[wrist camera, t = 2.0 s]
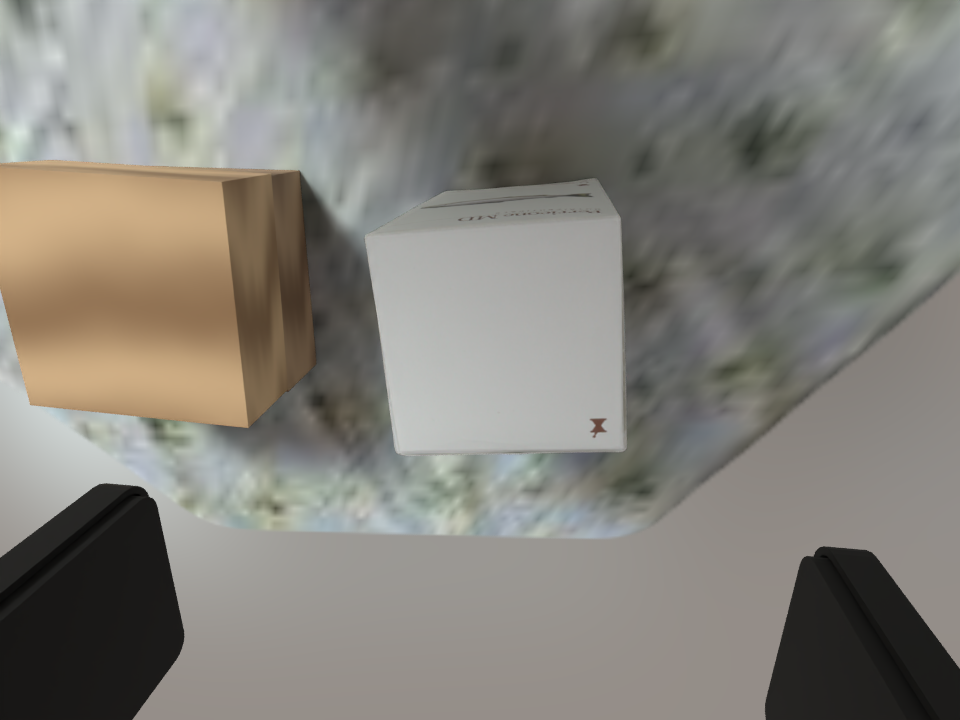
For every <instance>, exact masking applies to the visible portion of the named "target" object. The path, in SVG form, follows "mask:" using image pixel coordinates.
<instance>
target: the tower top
mask: <svg viewBox="0 0 960 720" xmlns="http://www.w3.org/2000/svg"><path fill="white" fill-rule="evenodd" d="M0 290H1V293H2V297H3V301H4V305H5V309H6V313H7V317H8V321H9V324H10V328H11V332H12V336H13V340H14V344H15V348H16V352H17V355H18V359H19V363H20V367H21V371H22V375H23V379H24V382H25V386H26V390H27V394H28V398H29V402H30V405H35V406H44V407H54V408H63V409H73V410H82V411H92V412H101V413H111V414H120V415H130V416H139V417H149V418H158V419H168V420H177V421H187V422H196V423H206V424H215V425H225V426H234V427H244V428H249V427H250V426H251V425H252V424H253V423H254V422H255V421H256V420H257V419H258V418H259V417H260V416H261V415H262V414H263V413H264V412H265V411H266V410H267V409H268V408H269V407H270V406H271V405H273V404H274V403H275V402H276V401H277V400H278V399H279V398H280V397H281V396H282V395H283V394H284V393H285V392H286V391H287V390H288V381H287V368H286V356H285V343H284V330H283V317H282V305H281V292H280V279H279V266H278V253H277V241H276V228H275V215H274V202H273V190H272V177H271V174H268V173H252V172H236V171H220V170H204V169H188V168H172V167H156V166H140V165H124V164H109V163H93V162H77V161H61V160H44V161H29V162H14V163H0Z"/></svg>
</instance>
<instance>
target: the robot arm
mask: <svg viewBox="0 0 960 720" xmlns="http://www.w3.org/2000/svg"><path fill="white" fill-rule="evenodd" d="M183 642H184V629H183V624H182V620H181V615H180V610H179V606H178V601H177V596H176V592H175V587H174V582H173V578H172V573H171V569H170V563H169V559H168V555H167V549H166V545H165V540H164V535H163V531H162V526H161V522H160V517H159V512H158V507H157V504H156V502H155V501H154V499H153V498H150V497H149V496H148V493H147V492H146V490H145V489H144V488H142V487H138V486H130V485H118V484H107V483H106V484H99V485H97V486H96V487H94V488H92V489H91V490H90V491H88V492H87V493H86V494H84V495H83V496H82V497H80V498H79V499H78V500H76V501H75V502H74V503H72V504H71V505H70V506H68V507H67V508H66V509H65V510H63V511H62V512H60V513H59V514H58V515H56V516H55V517H54V518H52V519H51V520H50V521H48V522H47V523H46V524H44V525H43V526H42V527H41V528H39V529H38V530H36V531H35V532H34V533H33V534H32V535H30V536H29V537H27V538H26V539H25V540H23V541H22V542H21V543H19V544H18V545H17V546H15V547H14V548H13V549H11V550H10V551H9V552H7V553H6V554H5V555H3V556H2V557H1V558H0V720H132V719H133V718H134V717H135V715H136V714H137V712H138V711H139V710H140V708H141V707H142V706H143V704H144V703H145V702H146V700H147V699H148V697H149V696H150V695H151V693H152V692H153V691H154V689H155V688H156V687H157V685H158V684H159V683H160V681H161V680H162V678H163V677H164V676H165V674H166V673H167V672H168V670H169V669H170V668H171V666H172V665H173V663H174V662H175V661H176V659H177V658H178V656H179V654H180V652H181V649H182V646H183ZM765 715H766V720H960V669H959V667H958V666H957V665H956V663H955V662H954V661H953V659H952V658H951V657H950V655H949V654H948V653H947V651H946V650H945V648H944V647H943V646H942V644H941V643H940V642H939V640H938V639H937V638H936V636H935V635H934V634H933V632H932V631H931V630H930V628H929V627H928V626H927V624H926V623H925V622H924V620H923V619H922V618H921V616H920V615H919V614H918V612H917V611H916V610H915V608H914V607H913V606H912V604H911V603H910V602H909V600H908V599H907V598H906V596H905V595H904V594H903V592H902V591H901V589H900V588H899V587H898V585H897V584H896V583H895V581H894V580H893V579H892V577H891V576H890V575H889V573H888V572H887V571H886V569H885V568H884V567H883V565H882V564H881V563H880V561H879V560H878V559H877V558H876V556H875V555H874V554H873V553H872V552H869V551H867V550H858V549H847V548H835V547H820V548H819V549H818V550H817V551H816V552H815V555H814V557H811V556H806V557H804V558H803V559H802V561H801V564H800V567H799V570H798V574H797V578H796V582H795V587H794V590H793V594H792V598H791V602H790V606H789V610H788V614H787V618H786V622H785V626H784V630H783V634H782V638H781V642H780V646H779V650H778V654H777V658H776V662H775V666H774V670H773V674H772V678H771V682H770V686H769V690H768V694H767V698H766V703H765Z"/></svg>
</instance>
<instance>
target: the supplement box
mask: <svg viewBox="0 0 960 720" xmlns="http://www.w3.org/2000/svg"><path fill="white" fill-rule="evenodd" d="M364 240H365V245H366V250H367V256H368V263H369V269H370V275H371V281H372V288H373V294H374V300H375V306H376V312H377V319H378V327H379V334H380V342H381V349H382V357H383V364H384V371H385V379H386V386H387V394H388V402H389V409H390V417H391V424H392V432H393V440H394V448H395V451H396V453H397V454H400V455H404V456H431V455H473V454H528V453H574V452H623V451H625V450H626V449H627V404H626V352H625V318H624V286H623V261H622V232H621V217H620V215H619V214H618V212H617V210H616V209H615V207H614V205H613V204H612V202H611V200H610V198H609V197H608V196H607V194H606V192H605V191H604V189H603V187H602V186H601V184H600V183H599V181H598V179H596V178H591V179H584V180H577V181H570V182H561V183H552V184H540V185H527V186H514V187H502V188H490V189H477V190H456V191H445V192H442V193H441V194H439V195H437V196H435V197H433V198H431V199H429V200H428V201H426V202H424V203H422V204H420V205H418V206H417V207H415V208H413V209H411V210H409V211H408V212H406V213H404V214H403V215H401V216H399V217H398V218H396V219H394V220H393V221H391V222H389V223H387V224H385V225H383V226H381V227H380V228H378V229H376V230H375V231H373V232H371V233H369V234H366V236H365V238H364Z"/></svg>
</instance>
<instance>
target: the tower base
mask: <svg viewBox="0 0 960 720" xmlns="http://www.w3.org/2000/svg"><path fill="white" fill-rule="evenodd" d="M156 167H168V166H156ZM172 168H188V169H204V170H220V171H236V172H252V173H268V174H271V177H272V190H273V202H274V215H275V228H276V241H277V253H278V266H279V279H280V292H281V305H282V317H283V330H284V343H285V356H286V368H287V381H288V390H287V391H286V392H288V391H289V390H291V389H292V388H293V387H294V386H295V385H296V384H297V383H298V382H299V381H300V380H301V379H302V378H303V377H304V376H305V375H306V374H307V373H308V372H309V371H310V370H311V369H312V368H313V367H314V366H315V365H316V352H315V341H314V330H313V318H312V307H311V295H310V284H309V273H308V261H307V250H306V238H305V227H304V216H303V204H302V193H301V181H300V171H295V170H264V169H232V168H200V167H172Z"/></svg>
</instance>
